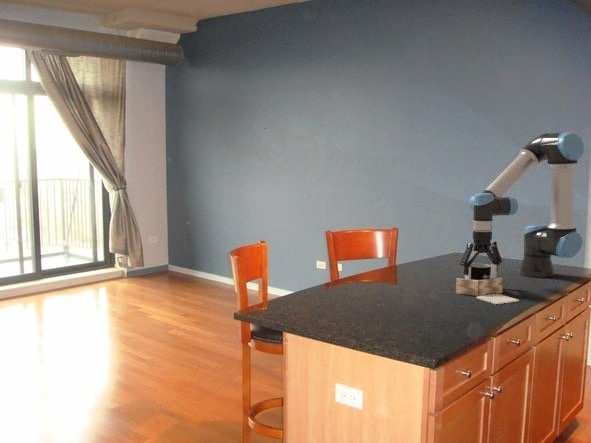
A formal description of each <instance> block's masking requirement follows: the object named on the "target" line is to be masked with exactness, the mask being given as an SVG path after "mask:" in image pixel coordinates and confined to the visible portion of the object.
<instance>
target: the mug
mask: <svg viewBox="0 0 591 443" xmlns="http://www.w3.org/2000/svg"><path fill="white" fill-rule="evenodd" d="M470 267H471V280H484V279H490V273H491V264H487V263H479V262H478V263H476V262H473V263H472V264H471V265H470Z"/></svg>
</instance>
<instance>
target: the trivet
mask: <svg viewBox="0 0 591 443" xmlns="http://www.w3.org/2000/svg"><path fill="white" fill-rule="evenodd" d="M476 299H478V300H481V301H485V302H487V303H490V302H491V304H493V305H496V304H498V305H504V303H505V304H510V303H511V304H512V303H516V302H520V300H519V299H518V298H514V297H510V296H507V295H503V294H502V293H496V294H488V295H481V296H476Z"/></svg>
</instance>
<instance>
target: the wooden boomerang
mask: <svg viewBox="0 0 591 443" xmlns="http://www.w3.org/2000/svg"><path fill="white" fill-rule="evenodd" d="M503 286H504V285H503V277H496V278H493V279H484V280H470V279H465V278H459V277H457V278H456V281H455V294H459V295H468V296H469V295H470V296H476V297H477V296H484V295H487V294H488V295H492V294H495V293H496V294H502V293H503Z"/></svg>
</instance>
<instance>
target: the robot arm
mask: <svg viewBox="0 0 591 443" xmlns="http://www.w3.org/2000/svg"><path fill="white" fill-rule="evenodd" d="M584 150H585V146H584V142H583V139H582V138H581V137H580V135H578V134H577V133H575V132H566V131H564V132H551V133H548V132H546V133H542V134H540V135H538V136H536V137H535V138H533V139H532V140H530V141H529V142H528V143H527V144H526V145H525V146H523V148H521V150H520V151H519V154H518V156H517V157H515V159H514V160H513V161H512V162H511V163H510V164H509V165H508V166H507V167H506V168H505V169H504V170H503V171H502V172H501V173H500V174H499V175H498V176H497V177H496V178H495V179H494V180H493V181H492V182H491V183H490V184H489V185H487V187H486V188H485V189H484V190H483V191H482V192H478V193H475V194H474V195H472V196H471V197H470V199H469V202H468V204H469V205H468V206H469V209H470V210H472V211H473V222H472V223H473V224H472V226H473V227H472V229H473V231H472V240H473V243H471V242H467V243H466V249H465V250H464V253H463V255H462V258H461V261H460V262H459V266H463V274H464V279H470V280H471V267H470V265H471V264H473V263H474V262H475V261H474V260H475V259H476V258H477V257H478V255H480V254H486V256H487V257H488V259H489V260H490V262H491V263H490V266H491V273H490V279H493V278H497V272H498V270H499V269H498V268H499V267H498V266H499V265H500V264H501V263H503V259H502V257H501V254H500V252H499V249H498V244H497V243H498V242H497V241H494V240H492V239H493V238H492V237H493V231H492V230H493V219H494V217H495V216H496V217H497V216H498V217H501V216H507V217H509V216H512V215H515V214H516V213H517V212H518V210H519V203H518V200H517V199H516V198H515V197H509V196H506V197H504V196H505V195H506V193H508V192H509V190H511V189H512V188H513V187H514V186H515V184H516V183H517V182H518V181H519V180H520V179H521V178H523V177H524V175H525V174H526V173H528V171H530V170H531V168H533V167H536V166H537V165H538V164H539V163H541V162H543V161H546V160H547V166H549V167H550V169H551V174H550V175H551V182H550V183H551V186H550V213H551V214H550V223H549V224H539V225H538V224H537V225H527V226H525V228H524V233H523V235H524V237H523V258H522V261H521V264H520V267H519V269H518V270H519V271H518V273H519V275H520V276H521V275H522V276H525V277H532V278H552V277H555V269H554V266H553V262H552V256H554V257H558V258H561V259H562V258H566V259H571V258H574V257H575V256H577V255H578V253H579V252H580V250H582V246H583V237H582V235H581V234H580V233H578V232H577V225H576V224H574V223H573V220H574V219H573V216H574V214H573V213H574V209H573V208H574V207H573V204H574V203H573V202H574V199H573V198H574V168H575V167H576V166H577V165H578V160H579V159H580V158H581V157H582V155H583V153H584Z"/></svg>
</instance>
